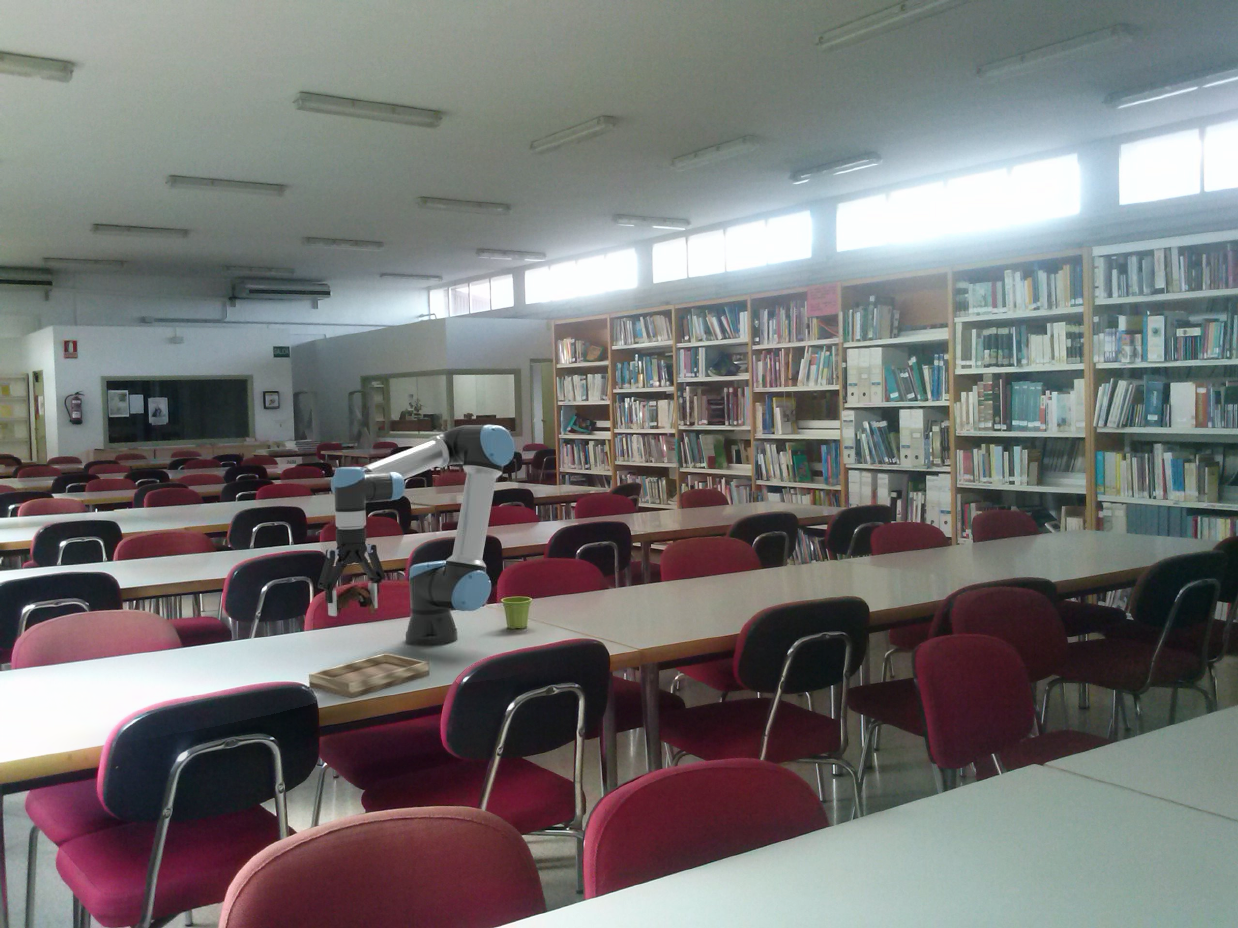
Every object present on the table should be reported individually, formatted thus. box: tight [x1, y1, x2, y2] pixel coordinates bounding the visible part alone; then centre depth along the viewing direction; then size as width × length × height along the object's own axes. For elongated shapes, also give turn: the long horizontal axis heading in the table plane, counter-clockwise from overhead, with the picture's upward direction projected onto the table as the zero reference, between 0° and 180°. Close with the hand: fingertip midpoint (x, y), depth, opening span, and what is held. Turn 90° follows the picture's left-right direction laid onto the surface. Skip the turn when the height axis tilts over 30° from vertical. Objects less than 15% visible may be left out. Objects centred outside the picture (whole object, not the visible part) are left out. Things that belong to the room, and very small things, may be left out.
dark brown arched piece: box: [336, 584, 376, 616], centre depth 253 cm, size 12×10×8 cm
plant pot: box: [500, 596, 533, 630], centre depth 305 cm, size 9×9×9 cm
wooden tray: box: [308, 652, 430, 698], centre depth 249 cm, size 24×17×3 cm
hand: (353, 611), depth 253 cm, fingers closed on dark brown arched piece, 11 cm apart
